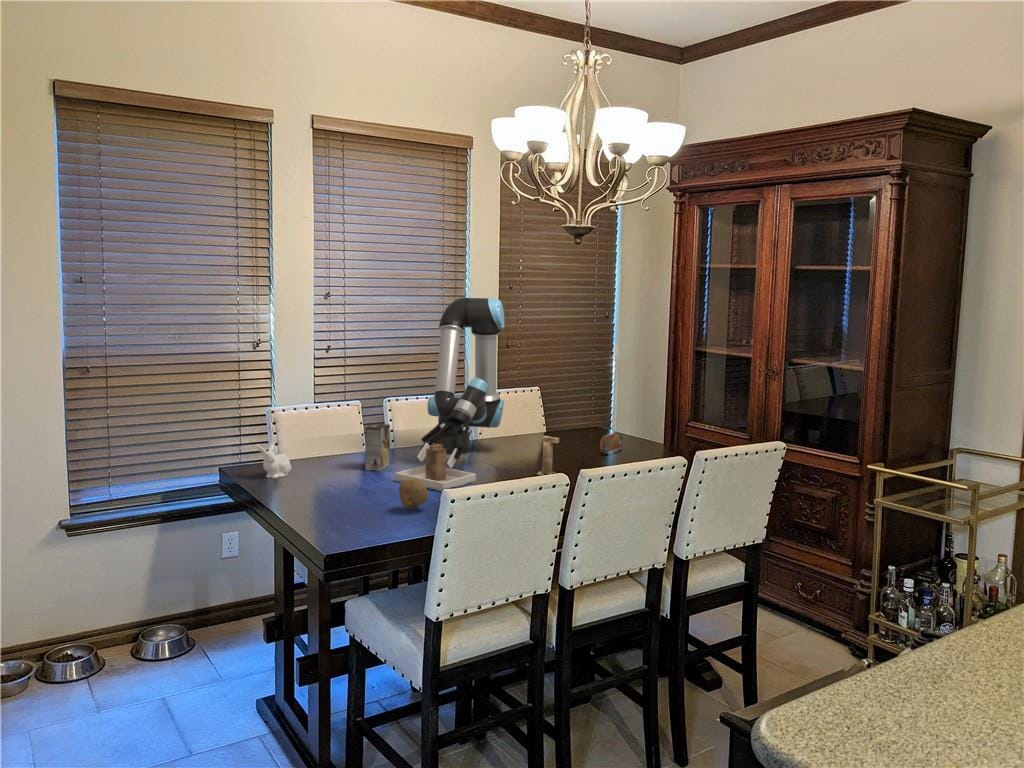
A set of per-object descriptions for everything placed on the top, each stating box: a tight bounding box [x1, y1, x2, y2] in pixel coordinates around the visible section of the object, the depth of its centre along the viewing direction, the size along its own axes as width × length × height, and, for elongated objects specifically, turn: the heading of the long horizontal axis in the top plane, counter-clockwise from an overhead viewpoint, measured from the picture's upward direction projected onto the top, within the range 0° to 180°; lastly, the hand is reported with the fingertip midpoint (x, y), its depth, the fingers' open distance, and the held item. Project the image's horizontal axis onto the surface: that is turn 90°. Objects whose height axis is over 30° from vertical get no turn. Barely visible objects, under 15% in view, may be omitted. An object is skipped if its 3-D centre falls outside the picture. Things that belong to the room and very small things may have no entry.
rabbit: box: [256, 441, 292, 479], centre depth 288 cm, size 12×9×12 cm
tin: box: [599, 432, 623, 453], centre depth 344 cm, size 15×3×8 cm, turn 143°
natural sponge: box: [398, 478, 429, 511], centre depth 252 cm, size 9×9×10 cm
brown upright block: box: [425, 444, 447, 481], centre depth 286 cm, size 5×5×12 cm
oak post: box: [537, 435, 560, 475], centre depth 300 cm, size 8×7×15 cm
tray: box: [394, 464, 477, 493], centre depth 287 cm, size 22×18×3 cm
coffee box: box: [364, 423, 391, 472], centre depth 303 cm, size 9×6×16 cm
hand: (434, 462), depth 286 cm, fingers open, 13 cm apart
